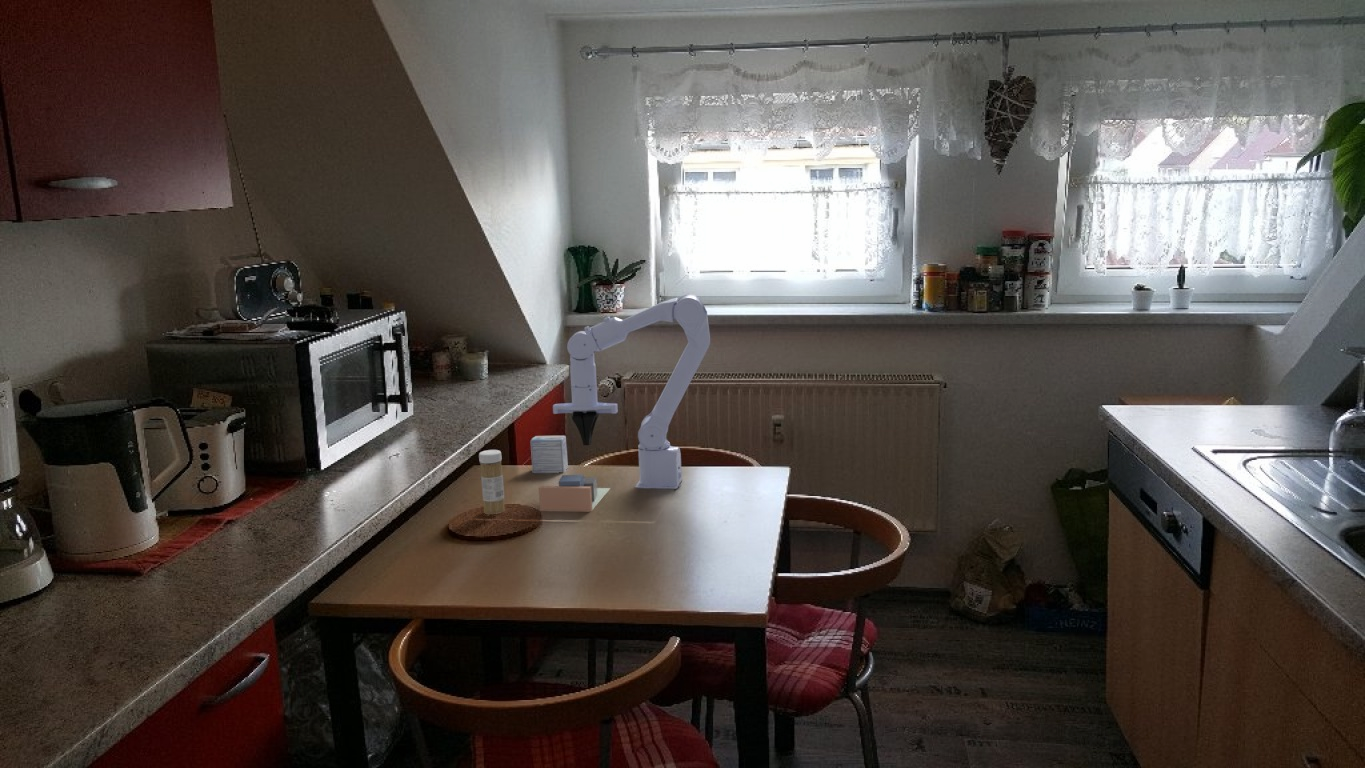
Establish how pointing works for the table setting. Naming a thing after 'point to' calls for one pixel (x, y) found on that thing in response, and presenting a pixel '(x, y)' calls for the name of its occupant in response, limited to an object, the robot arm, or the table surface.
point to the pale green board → (569, 498)
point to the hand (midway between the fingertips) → (587, 444)
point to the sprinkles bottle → (492, 481)
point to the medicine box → (549, 454)
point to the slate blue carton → (571, 480)
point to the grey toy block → (591, 485)
